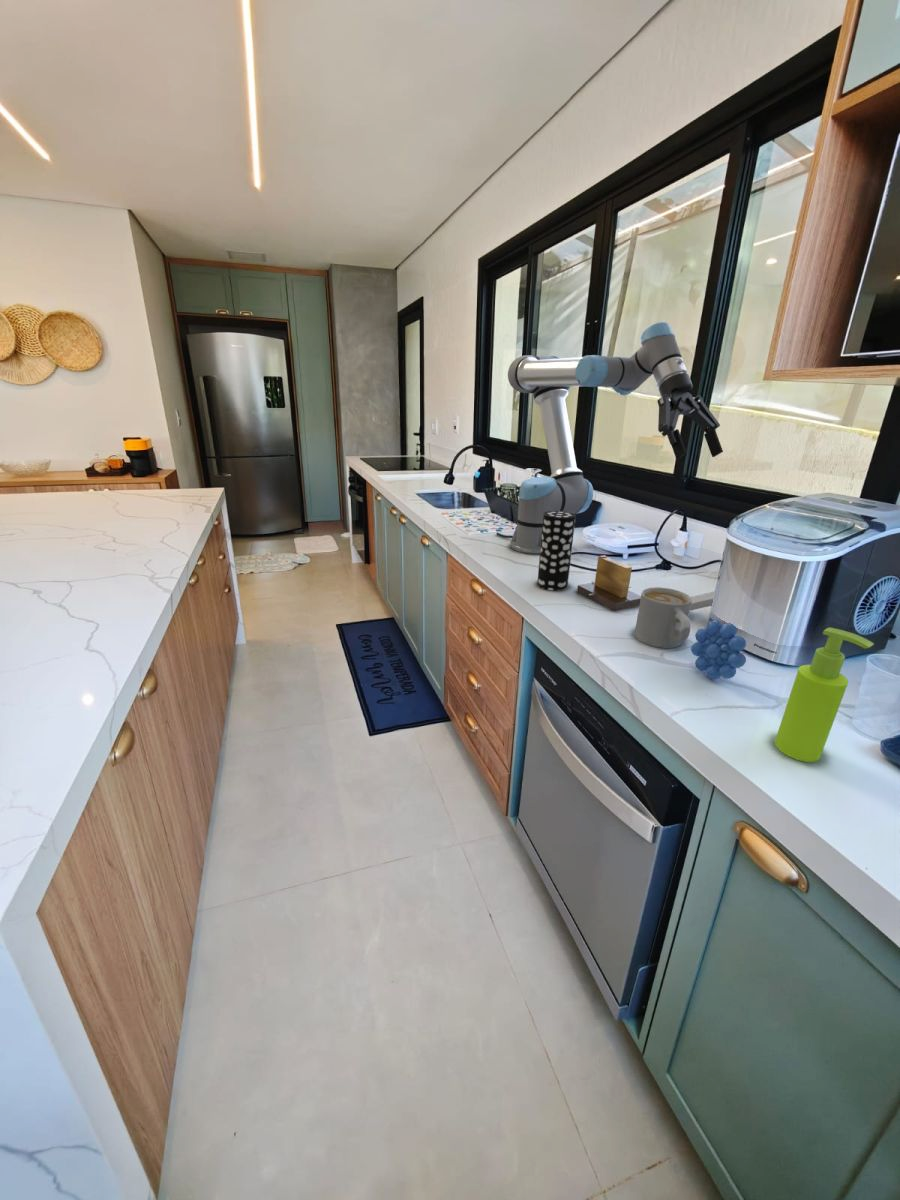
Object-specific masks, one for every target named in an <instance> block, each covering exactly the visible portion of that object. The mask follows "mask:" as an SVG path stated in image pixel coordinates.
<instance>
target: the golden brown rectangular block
mask: <svg viewBox="0 0 900 1200" xmlns="http://www.w3.org/2000/svg"><path fill="white" fill-rule="evenodd" d="M632 570H633V566H631V565H628V564H625V563H623V562H621V561H618V560H615V559H613V558H610V557H608V556H607V555H604V554H603V555H599V556H598V557H597V563H596V571H595V579H594V582H595V586H597V587H599V588H601V589H603V590H606V591H608V592H610V593H612V594H614V595H616V596H618V597H620V598H624V597H627V594H628V590H629V589H630V588H629V587H630V582H631V575H632Z"/></svg>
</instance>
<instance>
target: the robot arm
mask: <svg viewBox="0 0 900 1200" xmlns="http://www.w3.org/2000/svg"><path fill="white" fill-rule="evenodd" d="M640 344H641V347H639V348H638V349H637V351H635V352H634V353H633V354H632V355H631V356H629V357H625V356H608V355H607V356H606V355H599V354H591V355H589V354H587V355H584V356H578V357H577V356H576V357H558V356H555V355H551V356H544V355H531V354H526V355H521V356H518V357H517V358H515V359H514V360H513V361H512V362H511V363H510V365H509V367H508V370H507V380H508V382H509V384H510V386H511V387H512V389H514V390H515V391H516V392H519V393H523V394H532V395H533V400H534V401H533V402H534V403H535V404H536V405H538V406H539V408H540V414H541V421H542V426H543V431H544V438H545V443H546V449H547V455H548V459H549V467H550V472H551V475H549V476H540V477H539V476H535V477H530V478H527V479H524V480H523V481H521V484H520V485H519V493H518V507H517V508H518V509H517V524H516V527H515V530H514V532H513V534H512V535H511V534H510V535H507V534H502V533H500V532H496V535H495V536H499V537H500V538H505V539H511V540H510V545H509V546H510V548H511V550H513V551H515V552H519V553H523V554H530V555H540V548H541V537H542V527H543V516H544V512H547V511H565V512H570V513H573V514H575V515H577V514H582V513H584V512H586V511H587V510H588V509H589V508H590V506H591V504H592V502H593V499H594V487H593V485H592V483H591V482H590V480H588V479H586V478H584V474H583V470H581V469H580V468H578V467H577V461H576V455H575V449H574V443H573V437H572V432H571V426H570V420H569V415H568V410H567V404H566V399H567V397H568V395H569V391H570V389H571V388H572V387H588V388H594V387H595V388H601V387H602V388H606V387H607V388H612V389H613V391H614V392H615V393H617V394H620V395H621V396H629V395H630V394H631V393H633V392H634V391H636V390H637V389H638V388H640V387H641V385H642V384H644V383H645V381H647V380H648V379H649V378H650V377H651V376H653V379H654V381H655V385H656V387H657V388H658V392H659V395H660V397H659V398H658V399H657V405H658V425H657V431H658V433H661V435H662V437H666V436H667V438H668V441H669V444H670V446H671V449H672V451H673V454H674V457H675V459H676V460H679V459H680V458H682V457H684V456H685V455H687V454H688V453H687V452H688V451H687V449H686V446H685V443H684V441H683V438H682V435H681V432H680V430H679V429H678V428H677V424H678V420H679V417H680V415H682V416H685V417H687V418H690V419H691V420H692V421H693V422H694V423H695V424H696V425H697V426H698V427H699V428H700V430H702V431H703V432H705V433H704V434H703V436H704V438H705V441H706V444H707V447H708V449H709V452H710V455H711V458H715V457H717V456H719V455H720V454H722V453H724V450H723V447H722V445H721V441H720V439H719V436H718V434H717V430H716V429H718V428H719V427H720V426H721V425H720V423H719V421H718V419H717V418H716V417H715V415H714V414H713V413H712V412H711V411H710V409H709V408H708V406H707V405H706V404H705V402H704V400H703V398H702V396H701V395H700V394H698V395H696V396H695V397H694V396H693V395H692V394H691V392H692V390H693V386H694V385H693V383H692V380H691V376H690V375H689V373H688V370H687V367H686V365H685V362H684V361H685V360H684V359H683V357H682V354H681V351H680V349H679V346H678V342H677V339H676V335H675V333H674V332H673V330H672V327H671V326H670V324H669V323H668V322H667V321H658V322H655V323H652V324H650V325H649V326H648V327H647V328H645V329H644V330H643V331H642V333H641V335H640ZM676 428H677V429H676Z"/></svg>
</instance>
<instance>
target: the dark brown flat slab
mask: <svg viewBox="0 0 900 1200" xmlns="http://www.w3.org/2000/svg"><path fill="white" fill-rule="evenodd" d="M630 588H632V586H629V588H628V594H627V597H624V598H620V597H618V596H616V595H614V594H612V593H610V592H608V591H606V590H603V589H601V588H599V587H597V586H595V581H591V582H588V583H582V584H578V585H577V588H576V593H578V594H580V595H582V596H584V597H586V598H588V599H589V600H591V601H594V602H596V603H597V604H599V605H601V606H603V607H605V608H606V609H609V610H611V611H612V612H615V611H616V612H617V611H620V610H626V609H630V608H634V607H639V605H640V599H641V594H638V593H636V592H633V591H632V590H629V589H630Z"/></svg>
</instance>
